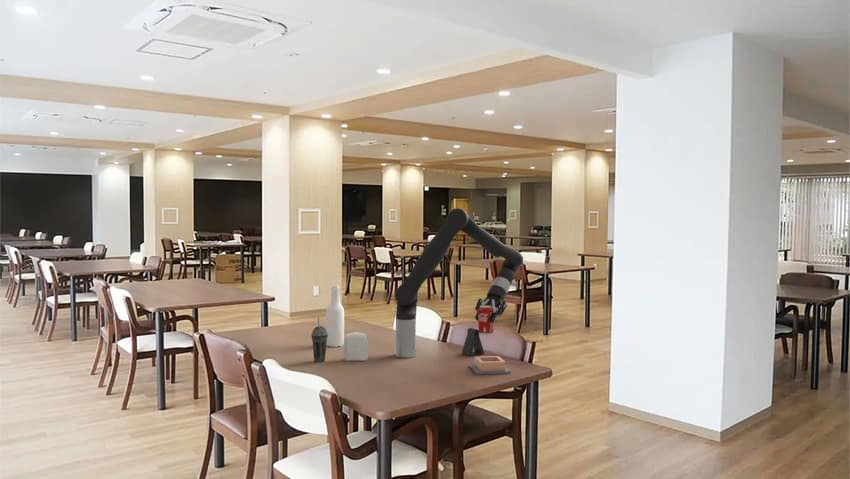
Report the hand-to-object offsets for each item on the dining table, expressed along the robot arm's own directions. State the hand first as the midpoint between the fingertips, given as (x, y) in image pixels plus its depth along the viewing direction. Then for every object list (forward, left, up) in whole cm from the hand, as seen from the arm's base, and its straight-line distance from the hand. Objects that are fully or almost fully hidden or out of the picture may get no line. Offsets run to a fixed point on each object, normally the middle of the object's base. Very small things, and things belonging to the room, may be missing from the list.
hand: (483, 320), depth 253 cm
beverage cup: (-68, +22, -21) cm, 75 cm away
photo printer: (-52, +23, -21) cm, 61 cm away
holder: (+3, -1, -21) cm, 21 cm away
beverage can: (+1, +1, -6) cm, 7 cm away
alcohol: (-61, +55, -21) cm, 85 cm away
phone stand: (+3, +29, -21) cm, 36 cm away
